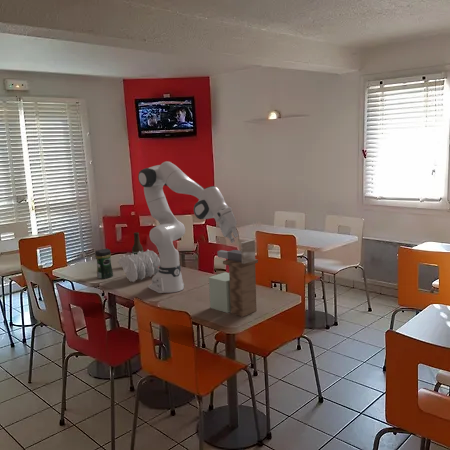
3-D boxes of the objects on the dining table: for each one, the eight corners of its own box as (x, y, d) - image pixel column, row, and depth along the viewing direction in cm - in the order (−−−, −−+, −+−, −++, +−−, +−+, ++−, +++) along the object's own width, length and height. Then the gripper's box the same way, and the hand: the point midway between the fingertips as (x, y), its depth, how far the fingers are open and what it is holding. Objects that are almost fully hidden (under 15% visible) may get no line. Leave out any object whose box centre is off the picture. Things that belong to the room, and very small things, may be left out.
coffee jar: (108, 274, 305) (106, 247, 302) (114, 276, 300) (112, 248, 296) (95, 277, 299) (92, 249, 296) (101, 280, 293) (98, 251, 290)
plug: (216, 257, 231) (215, 249, 230) (223, 255, 235) (222, 247, 234) (243, 262, 219) (242, 254, 218) (250, 260, 222) (249, 252, 222)
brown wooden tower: (225, 312, 228) (222, 240, 221) (241, 305, 236) (238, 236, 230) (243, 317, 219) (240, 243, 213) (259, 310, 228) (257, 239, 222)
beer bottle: (131, 267, 322) (128, 233, 317) (136, 264, 329) (134, 231, 325) (140, 267, 319) (138, 233, 315) (146, 265, 326) (144, 231, 322)
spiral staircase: (162, 281, 299) (129, 289, 281) (146, 266, 309) (114, 272, 291) (169, 258, 291) (136, 264, 273) (153, 243, 301) (120, 248, 283)
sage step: (210, 307, 235) (208, 277, 232) (226, 301, 243) (225, 272, 241) (227, 312, 227) (225, 281, 224) (243, 306, 235) (242, 275, 232)
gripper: (214, 223, 239) (226, 247, 236) (220, 210, 220) (232, 236, 217) (225, 219, 240) (236, 242, 238) (231, 205, 221) (244, 230, 218)
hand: (235, 239), depth 227 cm, fingers open, 8 cm apart
